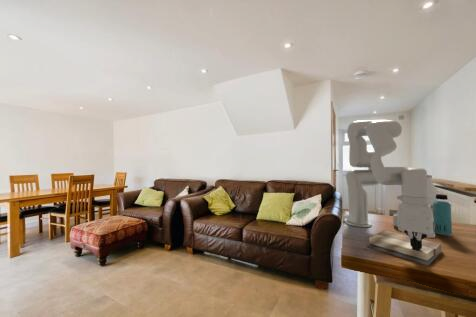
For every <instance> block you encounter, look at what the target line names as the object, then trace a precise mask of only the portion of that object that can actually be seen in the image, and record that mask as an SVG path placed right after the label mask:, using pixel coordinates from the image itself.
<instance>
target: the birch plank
mask: <svg viewBox="0 0 476 317" xmlns="http://www.w3.org/2000/svg"><path fill="white" fill-rule="evenodd" d="M368 239H369V242H368V244H369V243H370V244H373V245H376V246H380V247H383V248H386V249H390V250H393V251H397V252H400V253H403V254H407V255H410V256H414V257H417V258H420V259H424V260H429V259H430V258H431V257H432V256H434V249H433V248H429V247H425V246H422V249H420V250H418V251H416V250H412V246H411V245H410V242H406V241H402V240H398V239H394V238H390V237H386V236H382V235H378V234H377V233H376V234H375V235H372V236H370V237H369V238H368Z"/></svg>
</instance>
